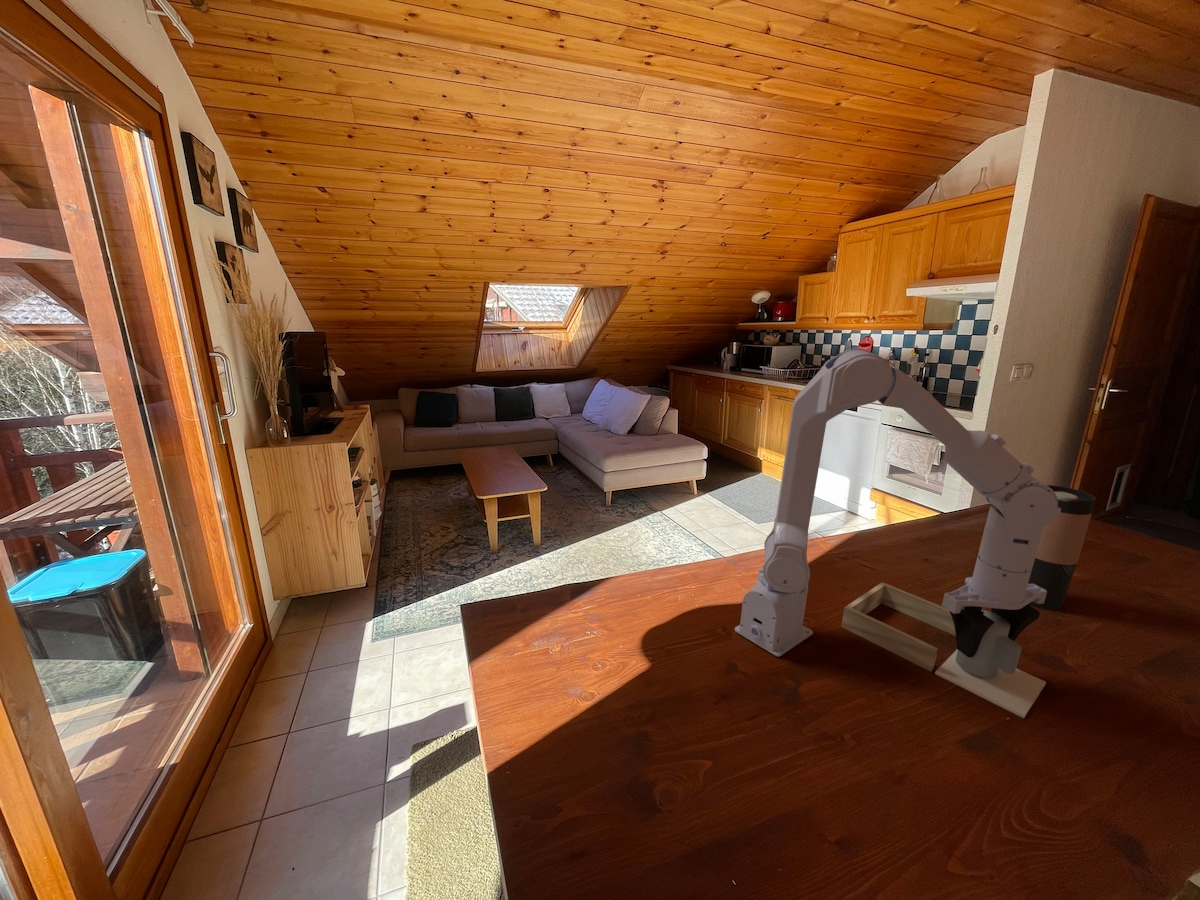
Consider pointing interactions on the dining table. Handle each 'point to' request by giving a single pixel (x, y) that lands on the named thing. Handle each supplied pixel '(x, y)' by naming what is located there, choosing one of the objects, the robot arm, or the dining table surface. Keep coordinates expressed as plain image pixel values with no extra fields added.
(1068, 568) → the travel mug
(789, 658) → the dining table surface
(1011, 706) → the coaster
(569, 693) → the dining table surface
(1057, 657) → the dining table surface
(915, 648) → the frame
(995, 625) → the grey domed cylinder
